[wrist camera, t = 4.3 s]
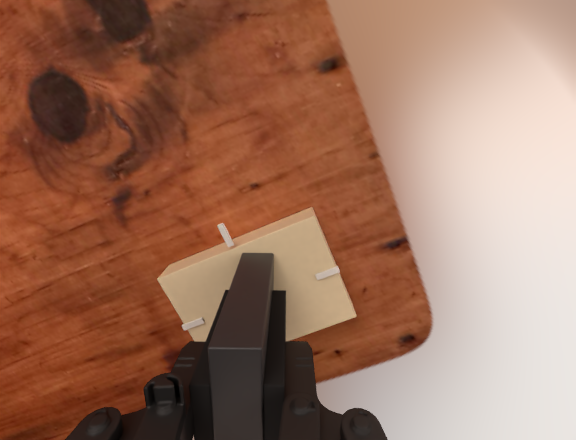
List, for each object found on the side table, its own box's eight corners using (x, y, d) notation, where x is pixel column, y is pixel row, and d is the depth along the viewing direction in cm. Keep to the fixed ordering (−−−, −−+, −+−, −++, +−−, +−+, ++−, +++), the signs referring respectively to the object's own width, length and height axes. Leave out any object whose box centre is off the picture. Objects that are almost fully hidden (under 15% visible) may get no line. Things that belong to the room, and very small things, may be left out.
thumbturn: (242, 252, 18) (205, 353, 10) (273, 252, 18) (261, 354, 10) (244, 341, 20) (215, 487, 12) (273, 341, 20) (263, 487, 12)
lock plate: (303, 181, 19) (305, 188, 17) (360, 318, 21) (367, 338, 19) (155, 244, 20) (139, 257, 18) (226, 365, 23) (220, 389, 21)
